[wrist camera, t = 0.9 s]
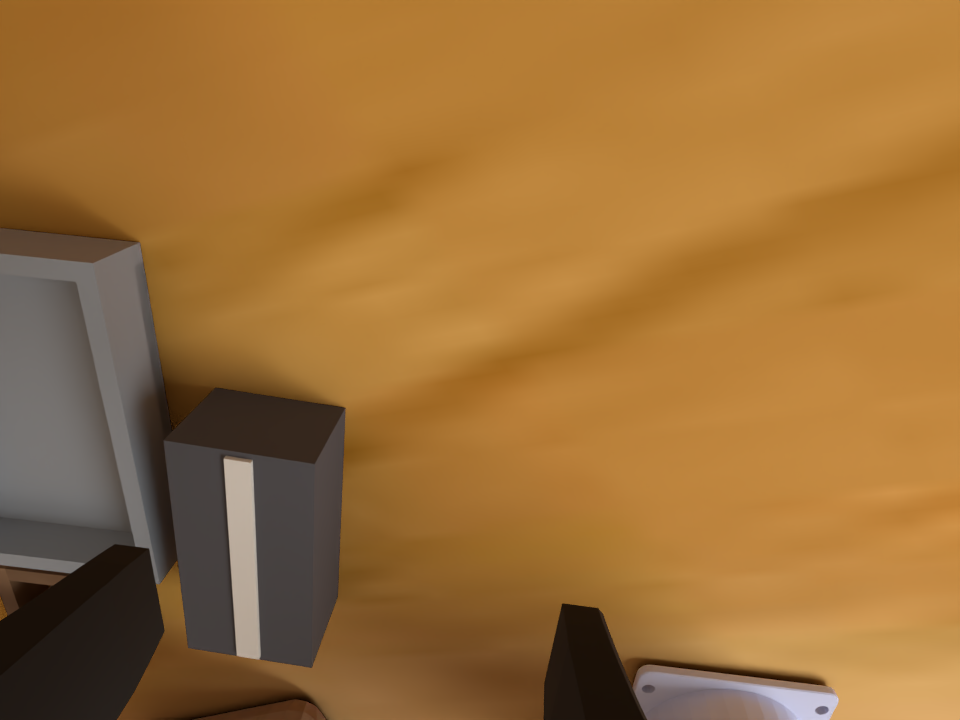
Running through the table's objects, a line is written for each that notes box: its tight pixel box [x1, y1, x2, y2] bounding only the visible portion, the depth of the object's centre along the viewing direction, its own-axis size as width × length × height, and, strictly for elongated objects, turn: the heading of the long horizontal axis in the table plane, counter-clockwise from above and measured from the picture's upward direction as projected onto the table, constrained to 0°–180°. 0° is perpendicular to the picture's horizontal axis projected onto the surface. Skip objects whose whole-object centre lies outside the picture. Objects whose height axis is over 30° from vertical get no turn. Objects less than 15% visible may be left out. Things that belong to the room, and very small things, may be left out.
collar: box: [0, 565, 71, 615], centre depth 25 cm, size 5×5×2 cm
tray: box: [0, 228, 178, 584], centre depth 20 cm, size 12×8×2 cm
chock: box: [163, 388, 345, 668], centre depth 21 cm, size 9×4×4 cm, turn 172°
